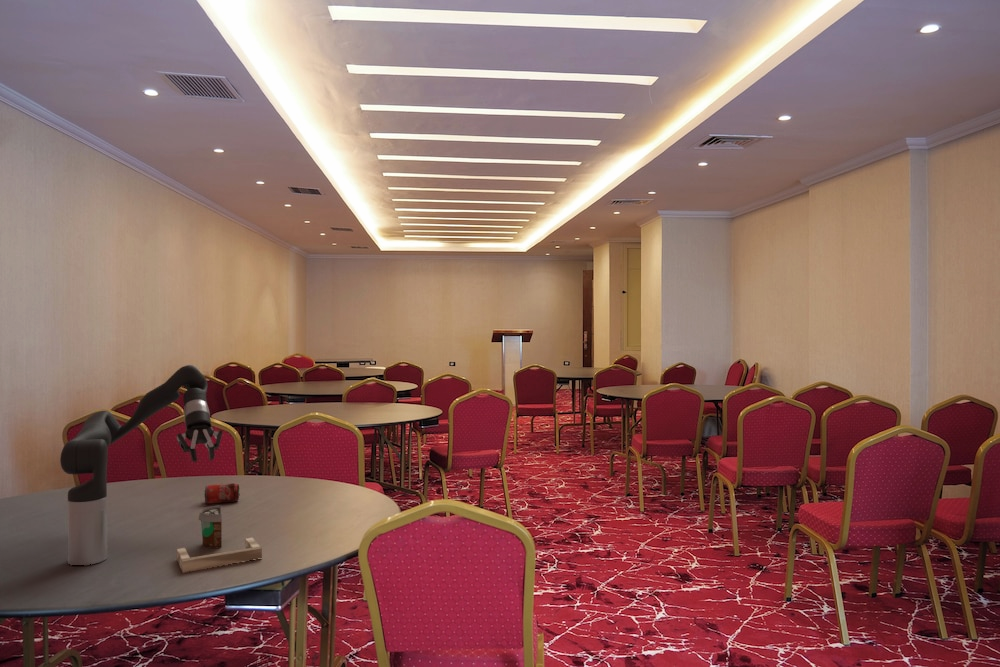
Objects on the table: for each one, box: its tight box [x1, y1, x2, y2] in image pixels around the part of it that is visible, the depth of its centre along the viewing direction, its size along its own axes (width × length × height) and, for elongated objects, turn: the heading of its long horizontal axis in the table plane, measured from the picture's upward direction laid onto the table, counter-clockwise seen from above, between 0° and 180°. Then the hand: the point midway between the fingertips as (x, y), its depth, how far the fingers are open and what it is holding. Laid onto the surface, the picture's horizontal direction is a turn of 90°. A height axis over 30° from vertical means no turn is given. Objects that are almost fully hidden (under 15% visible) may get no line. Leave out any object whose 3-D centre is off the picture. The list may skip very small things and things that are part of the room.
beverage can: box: [203, 482, 241, 505], centre depth 254 cm, size 7×12×7 cm, turn 108°
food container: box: [198, 504, 223, 548], centre depth 204 cm, size 12×6×10 cm, turn 23°
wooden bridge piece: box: [176, 537, 263, 574], centre depth 190 cm, size 12×20×3 cm, turn 122°
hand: (203, 459), depth 214 cm, fingers open, 4 cm apart
